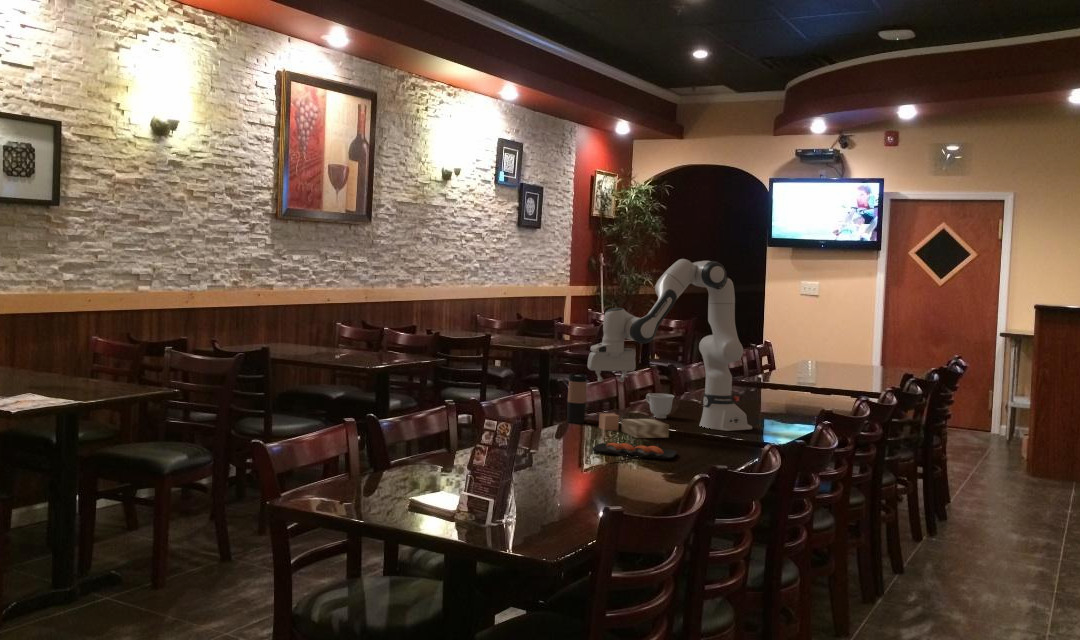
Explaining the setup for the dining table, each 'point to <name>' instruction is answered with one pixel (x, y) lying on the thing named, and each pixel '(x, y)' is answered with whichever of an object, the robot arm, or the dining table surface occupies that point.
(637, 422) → the birch plinth
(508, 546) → the dining table surface
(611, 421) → the terracotta cube
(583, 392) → the travel mug
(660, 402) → the teacup
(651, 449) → the sushi plate
